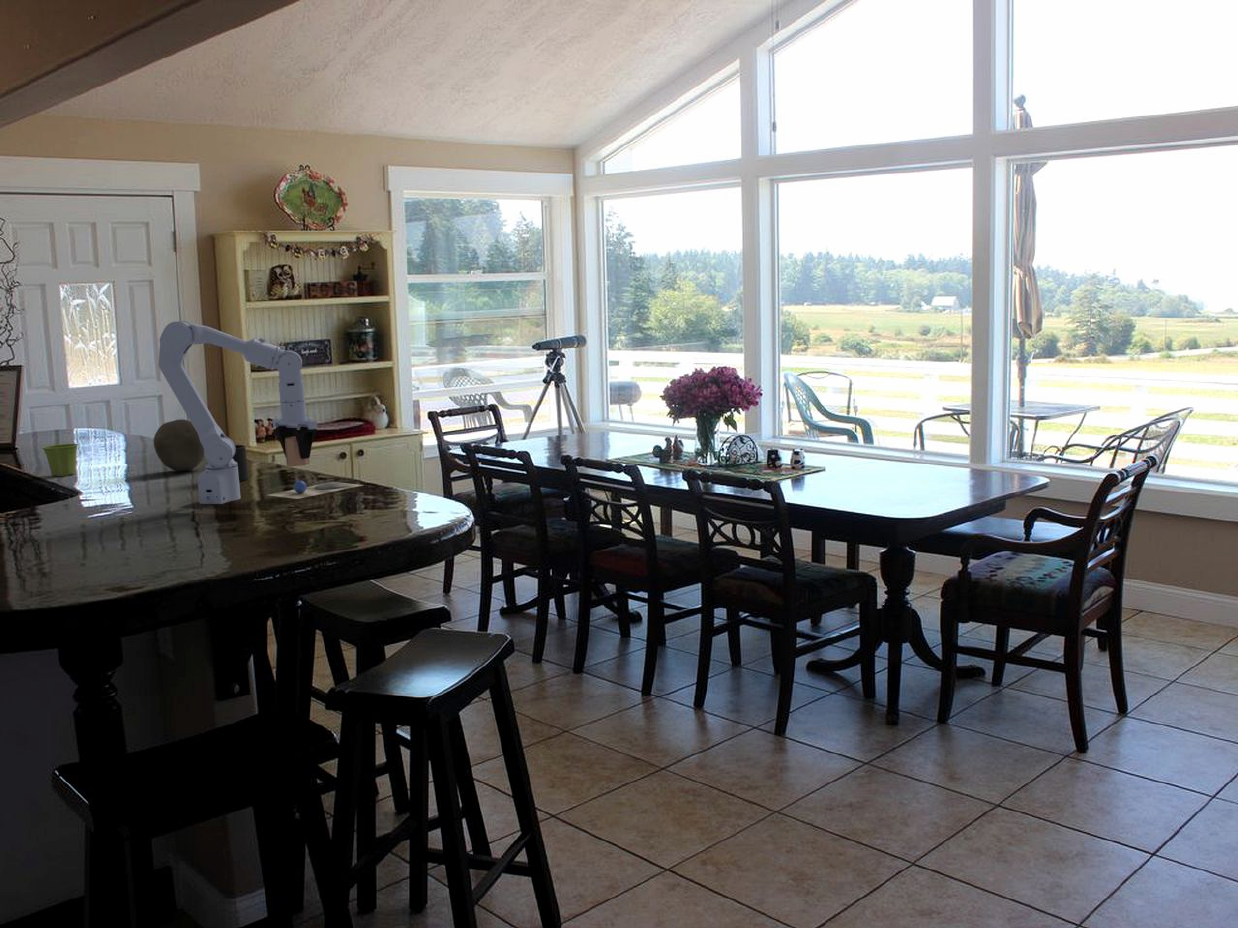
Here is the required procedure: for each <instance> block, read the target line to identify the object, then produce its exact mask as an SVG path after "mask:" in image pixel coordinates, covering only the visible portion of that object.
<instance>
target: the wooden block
mask: <svg viewBox="0 0 1238 928" xmlns="http://www.w3.org/2000/svg"><path fill="white" fill-rule="evenodd" d="M285 451H286V457H285V460H286V466H287V467H300V466H306V465H310V458H307V459H301V457H300V453H299V447H298V443H297V440H296V437H288V438H285Z"/></svg>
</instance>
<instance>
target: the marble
mask: <svg viewBox="0 0 1238 928" xmlns="http://www.w3.org/2000/svg"><path fill="white" fill-rule="evenodd" d="M307 487H308V486H307V483H306V482H305V481H303V480H297V481H296V482H295V483H294V484H293V490H295V491H296V492H297V493H303V492H305V490H306V488H307Z"/></svg>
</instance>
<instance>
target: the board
mask: <svg viewBox="0 0 1238 928" xmlns="http://www.w3.org/2000/svg"><path fill="white" fill-rule="evenodd" d="M362 486H363V487H364V484H357V483H356V484H355V483H347V482H346V483H345V482H337V481H331V482H326V483H321V484H315V485H311V486H307V488H306V490H305V492H303V493H297V492H296V491H295V490H294V489H291V490H285V491H281V492H275V493H270V494H267V496H269V497H277V498H278V497H279V498H286V499H295V500H298V499H305V498H308V497H309V498H310V497H313V496H318V495H324V494H329V493H333V492H338V491H342V490H349V489H352V488H357V487H358V488H359V487H362Z"/></svg>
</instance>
